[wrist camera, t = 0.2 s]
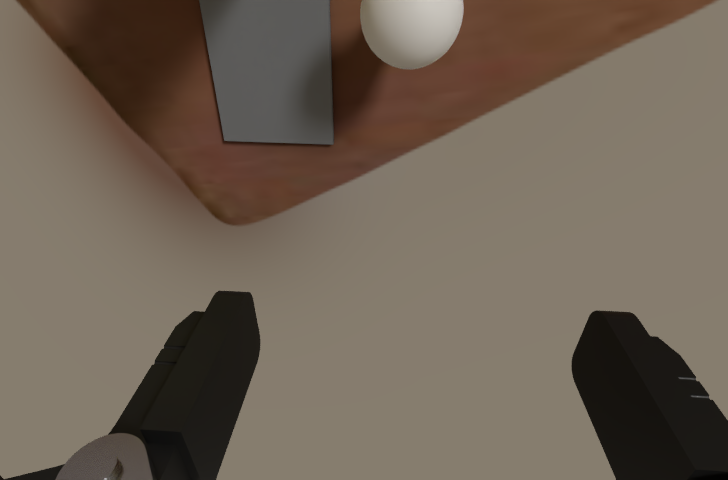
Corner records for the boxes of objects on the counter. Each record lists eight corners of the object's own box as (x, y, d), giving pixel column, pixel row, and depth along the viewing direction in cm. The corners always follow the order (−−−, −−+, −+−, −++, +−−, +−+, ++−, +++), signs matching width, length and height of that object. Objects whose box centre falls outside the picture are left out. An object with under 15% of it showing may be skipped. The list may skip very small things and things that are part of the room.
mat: (194, -45, 31) (190, -46, 30) (328, -44, 30) (327, -44, 30) (226, 138, 38) (224, 140, 38) (333, 142, 38) (333, 144, 37)
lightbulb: (379, 58, 34) (372, 91, 24) (358, -28, 30) (341, -27, 21) (454, 36, 32) (477, 62, 23) (440, -56, 29) (461, -68, 20)
